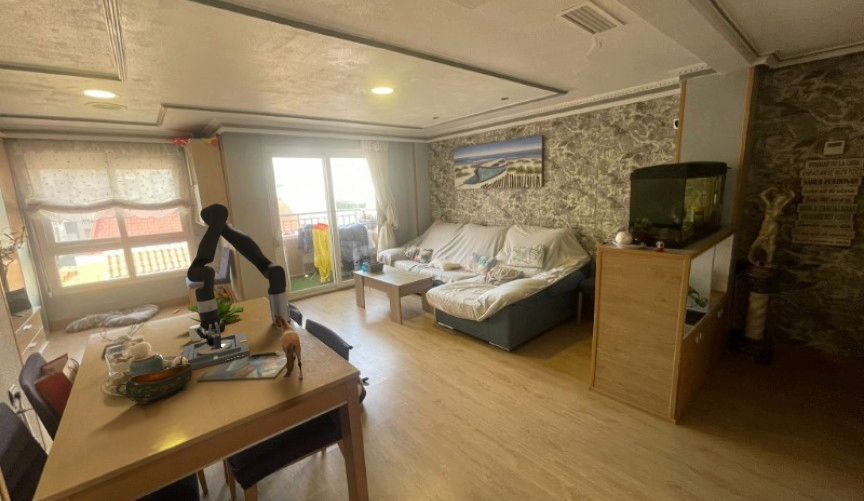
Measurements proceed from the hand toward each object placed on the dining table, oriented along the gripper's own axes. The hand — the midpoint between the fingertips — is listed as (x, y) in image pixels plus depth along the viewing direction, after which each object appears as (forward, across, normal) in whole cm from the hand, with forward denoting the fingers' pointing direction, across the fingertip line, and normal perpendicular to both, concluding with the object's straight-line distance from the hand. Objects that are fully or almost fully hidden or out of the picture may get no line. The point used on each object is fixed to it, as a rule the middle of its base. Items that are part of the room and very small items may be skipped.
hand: (214, 343), depth 162 cm
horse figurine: (+5, -1, +48) cm, 48 cm away
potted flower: (+5, -21, -38) cm, 44 cm away
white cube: (+5, -6, -27) cm, 28 cm away
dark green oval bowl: (+5, +30, +17) cm, 34 cm away
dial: (+2, 0, 0) cm, 2 cm away
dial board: (+4, 0, 0) cm, 4 cm away
